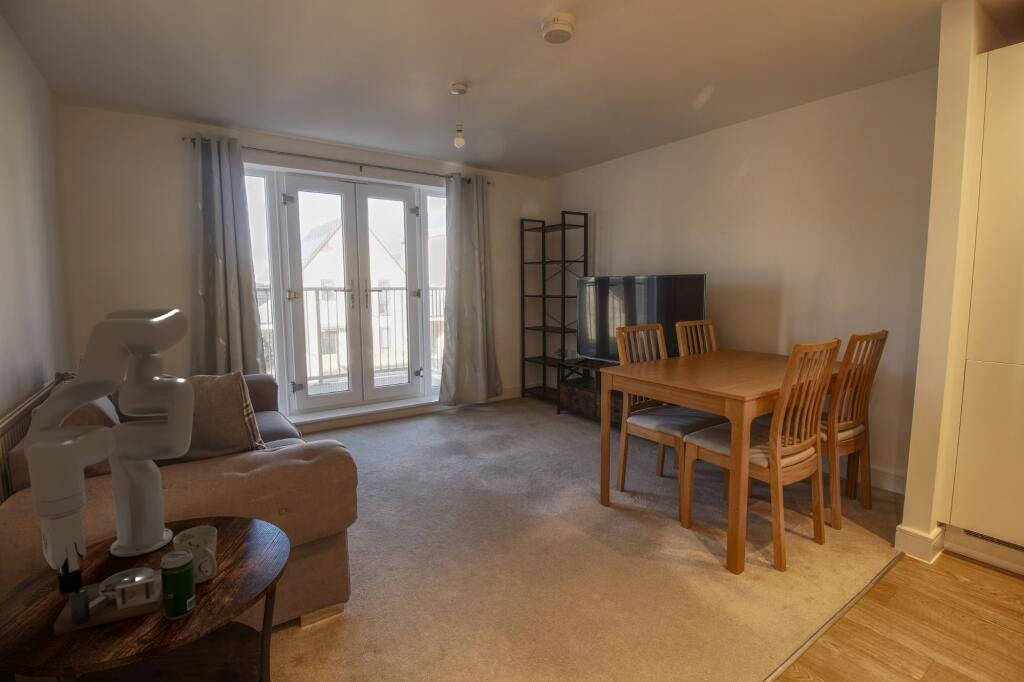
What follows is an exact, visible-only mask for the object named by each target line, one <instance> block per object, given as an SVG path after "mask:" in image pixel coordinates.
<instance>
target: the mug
mask: <svg viewBox="0 0 1024 682" xmlns="http://www.w3.org/2000/svg"><path fill="white" fill-rule="evenodd" d="M217 529H218V528H216V527H215V526H212V525H201V526H200V525H199V526H195V527H191V528H188V529H185V530H183V531H181V532H179V533H177V534H176V535H175V536H174V537H173V538H172V544H173V548H174V551H175V550H180V549H188V550H190V551H191V554H192V555H193V566H194V581H195V585H196V584H201V583H203V582H206V581H208V580H210V579H212V578H214V577H215V576H216V575H217V572H218V564H217V559H216V551H217V541H218V530H217Z"/></svg>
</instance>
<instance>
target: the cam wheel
mask: <svg viewBox="0 0 1024 682" xmlns="http://www.w3.org/2000/svg"><path fill="white" fill-rule="evenodd" d="M154 571H155V570H154V569H152V568H151V567H145V566H144V567H134V568H130V569H129V568H128V569H126V570H122V571H119V572H117V573H114V574H113V575H111V576H109V577H107V578H106V579H104V580H103V581H101V582H102V583H101V584H100V586H99V595H100V597H98V598H97V599H95V600H93V601H92V602H90V603H89V596H88V588H86V587H82V588H78V589H75V590H73V591H72V592H70V593H68V594H69V595H68V596H69V599H70V606H71V617H72V625H73V626H79V625H83V624H85V623H87V622H88V621H89V620H90V619H91V618H90V615H91V614H93V613H94V612H96V611H97V610H99V609H100V608H102V607H104V606H105V605H107V604H109V605H113V604H117V597H116V587H117V586H121V585H125V584H130V583H134V582H139V581H144V580H148V579H153V578H154ZM154 581H155V579H154Z"/></svg>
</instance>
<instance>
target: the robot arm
mask: <svg viewBox="0 0 1024 682" xmlns="http://www.w3.org/2000/svg"><path fill="white" fill-rule="evenodd" d="M188 329H189V321H188V318H187V316H186V313H184V311H182V310H181V309H177V308H169V307H166V308H165V307H159V308H158V307H153V308H150V307H149V308H148V307H134V308H133V307H132V308H131V307H130V308H127V307H126V308H119V309H114V310H112V311H110V312H108V314H107V315H106V317H105V319H104V320H100V321H99V322H97V323H95V324H94V326H93V327H92V329H91V331H90V334H89V338H88V340H87V343H86V345H85V348H84V352H83V354H82V357H81V360H80V363H79V366H78V370H77V372H76V374H75V376H74V378H73V379H72V380H70V381H69V382H68V383H66V384H64V385H63V386H62V387H60V388H59V389H58V390H56V391H55V392H54V393H52V394H51V396H49V397H48V398H47V399H46V400H45V401H43V403H42V404H41V405H40V406H39V407H38V408H37V410H36V412H35V413H34V415H33V417H32V419H31V423H30V424H29V427H28V430H27V433H26V436H25V440H24V443H23V444H24V445H23V454H24V458H26V460H27V464H28V465H27V467H28V474H29V481H30V490H31V497H32V504H33V505H32V506H33V515H34V518H36V519H39V520H40V528H41V541H42V553H43V555H44V556H43V557H44V558H45V559H46V561H47V563H48V564H49V566H50V567H51V569H54V570H57V572H58V573H57V575H56V576H57V584H58V592H59V593H60V595H62V596H65V595H67V594H70V592H72V591H73V590H75V589H78V588H82V587H83V586H84V584H83V578H82V577H83V576H82V569H81V563H80V560H81V561H84V560H85V559H86V557H87V548H86V544H87V543H86V538H85V536H86V535H85V529H84V523H83V521H84V519H83V516H82V510H83V509H84V508H85V507H87V506H88V498H87V487H86V478H85V470H84V469H85V468H86V467H90V466H91V465H95V464H98V463H100V462H103V461H105V460H106V459H107V460H108V463H109V466H110V471H111V477H112V487H113V500H114V511H115V513H114V514H115V521H116V522H115V524H116V534H117V539H116V540H115V541H114V542H113V543H112V544H111V545H110V549H109V550H110V554H111V555H113V556H116V557H120V558H123V557H124V558H126V557H135V556H141V555H145V554H148V553H152V552H154V551H156V550H159V549H160V548H162V547H164V546H166V545H167V544H168V543H170V542H171V540H173V538H174V537H173V536H174V535H173V531H172V530H171V529H170V528H166V527H165V515H164V512H165V511H164V499H163V498H164V497H163V488H162V475H161V470H160V469H159V467H158V465H157V464H156V463H155V462H154V461H153V460H165V459H166V460H167V459H175V458H180V457H183V456H184V455H185V454H187V453H188V451H189V449H190V445H191V443H192V442H191V440H192V432H193V423H194V422H193V421H194V411H195V390H194V387H193V384H192V383H191V382H190V381H189V380H187V379H186V378H183V377H164V365H165V361H164V358H163V356H162V353H164V352H166V351H168V350H170V349H171V348H173V347H174V346H175V345H177V344H178V343H179V342H181V341H182V340H183V339H184V337H186V335H187V333H188ZM117 392H118V399H117V400H118V404H117V405H118V409H119V411H120V413H121V414H123V415H125V416H128V417H156V416H167V420H140V421H139V420H138V421H126V422H121V423H118V424H116V425H114V426H112V427H109V426H105V425H83V426H82V425H79V426H62V424H63V423H64V421H65V420H66V419H67V418H68V417H69V415H71V414H72V413H74V412H75V411H76V410H78V409H79V408H81V407H83V406H85V405H88V404H90V403H93V402H95V401H97V400H99V399H102V398H104V397H108V396H109V395H112V394H115V393H117Z"/></svg>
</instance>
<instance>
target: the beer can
mask: <svg viewBox="0 0 1024 682" xmlns="http://www.w3.org/2000/svg"><path fill="white" fill-rule="evenodd" d="M160 570H161V581H162V594H163V597H162V605H163V615H164V616H165V618H166V619H167V620H171V621H176V620H181V619H183V618H185V617H188V616H190V615H191V614H192V613H193V612H194V610H195V607H196V606H197V602H196V601H197V599H196V586H195V585H196V584H195V581H194V566H193V555H192V554H191V551H190V550H188V549H180V550H175V549H174V550H173V551H170V552H168V553H166V554H164V555H163V556H162V557H161V562H160Z"/></svg>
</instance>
